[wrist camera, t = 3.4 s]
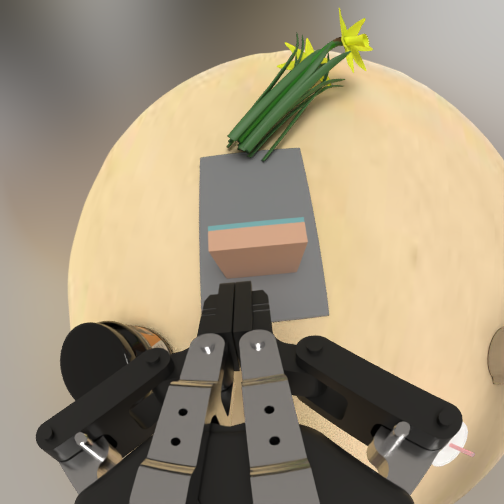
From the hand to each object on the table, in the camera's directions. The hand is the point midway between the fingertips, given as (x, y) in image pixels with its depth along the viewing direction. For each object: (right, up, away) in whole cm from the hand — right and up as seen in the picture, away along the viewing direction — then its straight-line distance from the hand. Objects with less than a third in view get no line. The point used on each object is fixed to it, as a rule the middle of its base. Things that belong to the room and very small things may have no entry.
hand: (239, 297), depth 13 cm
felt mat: (+1, +6, +24) cm, 25 cm away
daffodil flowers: (+9, +27, +31) cm, 43 cm away
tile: (+2, 0, +22) cm, 22 cm away
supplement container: (-14, -13, +20) cm, 27 cm away
